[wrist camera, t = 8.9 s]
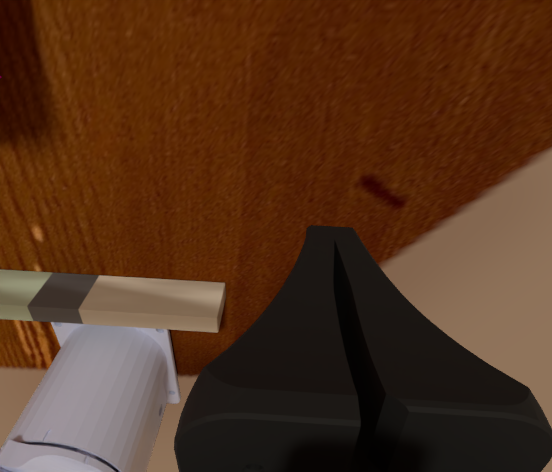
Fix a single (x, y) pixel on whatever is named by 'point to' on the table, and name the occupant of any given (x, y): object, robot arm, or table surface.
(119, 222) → the table surface
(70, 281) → the trap lane
